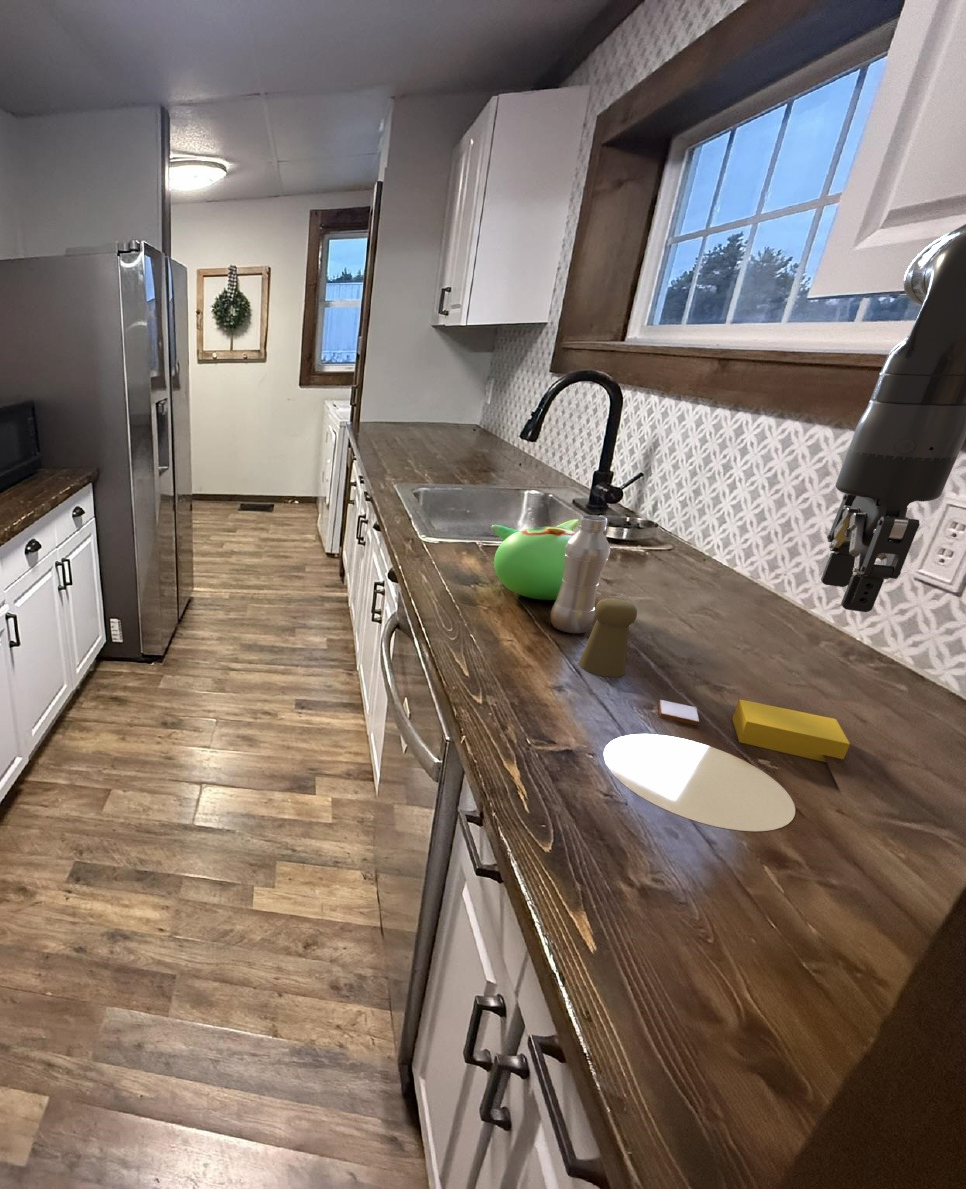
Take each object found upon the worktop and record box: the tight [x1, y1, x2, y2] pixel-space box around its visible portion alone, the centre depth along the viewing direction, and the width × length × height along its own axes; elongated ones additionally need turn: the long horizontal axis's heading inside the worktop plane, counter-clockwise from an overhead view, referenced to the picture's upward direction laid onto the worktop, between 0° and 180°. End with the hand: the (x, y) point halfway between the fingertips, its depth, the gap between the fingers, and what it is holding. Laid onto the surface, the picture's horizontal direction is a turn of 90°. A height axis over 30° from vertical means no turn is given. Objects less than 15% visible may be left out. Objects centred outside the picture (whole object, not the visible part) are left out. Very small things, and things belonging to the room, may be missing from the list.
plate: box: [603, 733, 796, 833], centre depth 71 cm, size 22×22×1 cm
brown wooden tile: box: [658, 699, 700, 727], centre depth 83 cm, size 4×4×2 cm
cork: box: [578, 597, 638, 678], centre depth 95 cm, size 6×6×11 cm
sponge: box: [731, 699, 851, 764], centre depth 77 cm, size 9×6×4 cm, turn 57°
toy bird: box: [491, 518, 580, 601], centre depth 122 cm, size 18×17×15 cm
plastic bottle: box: [550, 514, 611, 634], centre depth 106 cm, size 6×7×20 cm
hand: (843, 596), depth 70 cm, fingers open, 8 cm apart
